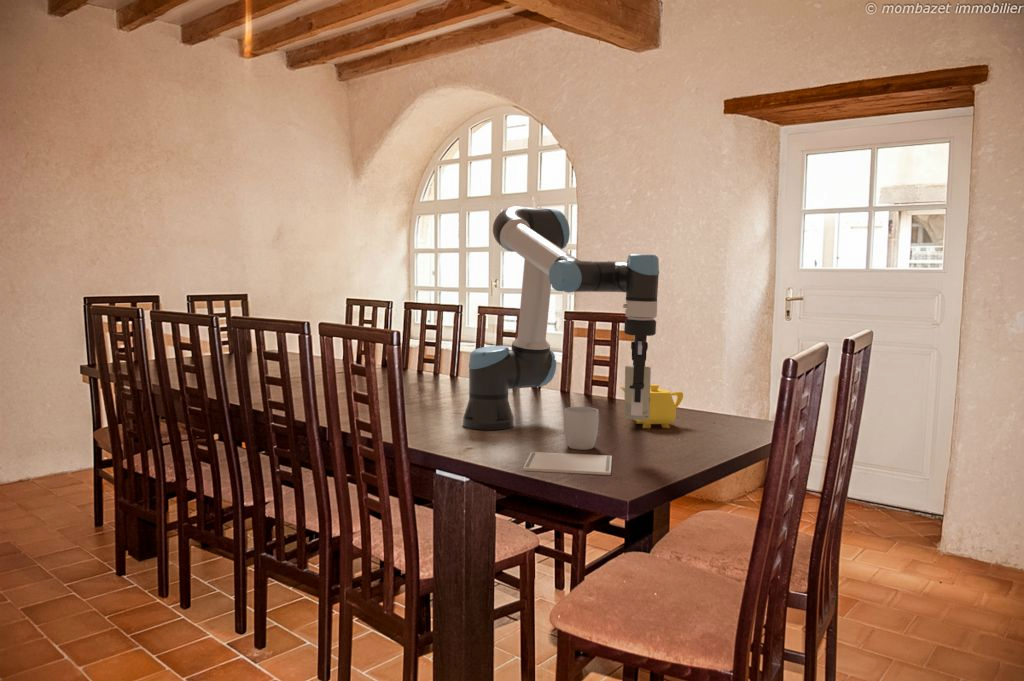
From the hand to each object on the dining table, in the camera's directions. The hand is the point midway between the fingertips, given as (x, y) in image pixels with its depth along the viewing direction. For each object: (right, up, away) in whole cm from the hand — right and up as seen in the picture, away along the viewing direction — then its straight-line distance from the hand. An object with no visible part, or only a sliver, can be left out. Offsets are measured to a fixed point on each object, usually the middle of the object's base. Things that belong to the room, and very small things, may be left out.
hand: (636, 412), depth 182 cm
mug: (-13, -10, +15) cm, 22 cm away
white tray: (-17, -12, -5) cm, 21 cm away
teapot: (+12, -8, +43) cm, 45 cm away
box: (0, -2, 0) cm, 2 cm away
